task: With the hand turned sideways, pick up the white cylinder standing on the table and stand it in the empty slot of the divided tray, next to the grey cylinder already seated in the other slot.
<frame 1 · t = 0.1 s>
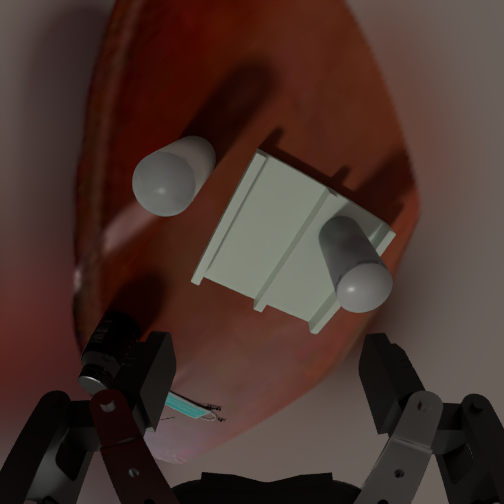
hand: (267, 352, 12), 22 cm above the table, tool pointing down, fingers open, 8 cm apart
white cylinder: (192, 158, 30), on the table
grey cylinder: (340, 237, 32), point 1 cm above the table, touching divided tray
supplement bottle: (122, 326, 42), on the table
surgical mask: (179, 398, 51), on the table
divided tray: (290, 245, 34), on the table
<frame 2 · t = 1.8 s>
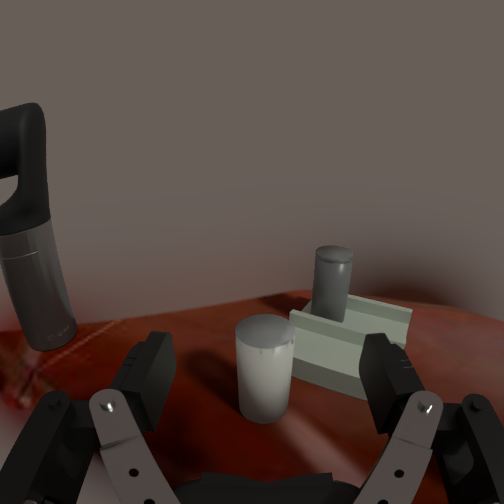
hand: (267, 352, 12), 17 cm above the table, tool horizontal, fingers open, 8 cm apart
white cylinder: (263, 405, 28), on the table
grey cylinder: (327, 316, 42), point 1 cm above the table, touching divided tray
divided tray: (343, 345, 37), on the table
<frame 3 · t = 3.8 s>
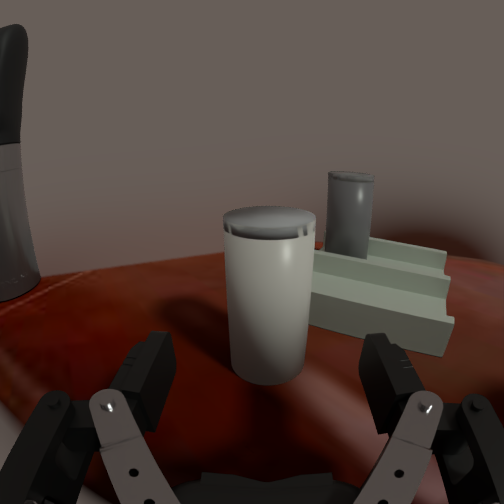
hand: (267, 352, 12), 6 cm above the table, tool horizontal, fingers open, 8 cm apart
white cylinder: (267, 360, 20), on the table
grey cylinder: (345, 261, 34), point 1 cm above the table, touching divided tray
divided tray: (369, 290, 29), on the table
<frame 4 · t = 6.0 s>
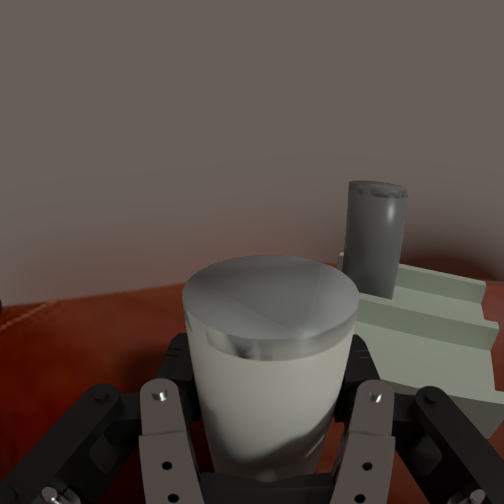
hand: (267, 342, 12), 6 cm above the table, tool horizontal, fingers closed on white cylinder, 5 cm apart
white cylinder: (264, 463, 12), on the table, touching gripper
grey cylinder: (365, 295, 26), point 1 cm above the table, touching divided tray
divided tray: (398, 338, 21), on the table
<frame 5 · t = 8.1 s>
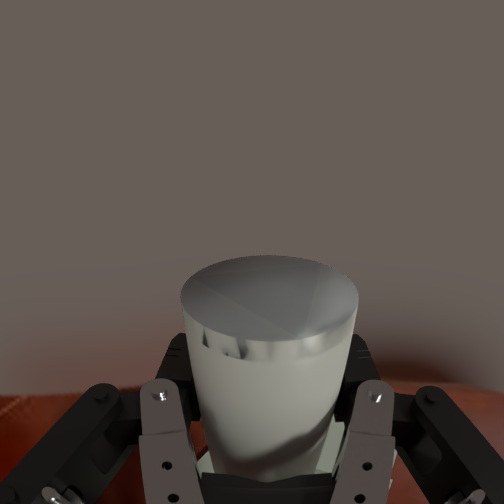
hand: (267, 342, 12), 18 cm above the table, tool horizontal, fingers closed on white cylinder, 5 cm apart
white cylinder: (264, 463, 12), point 12 cm above the table, touching gripper
divided tray: (298, 472, 21), on the table
when the fingers open (8 cm above the table, at t = 10.5 s): white cylinder drops 1 cm, resting on divided tray.
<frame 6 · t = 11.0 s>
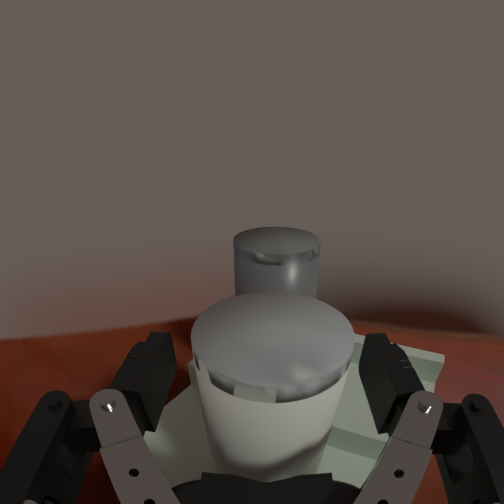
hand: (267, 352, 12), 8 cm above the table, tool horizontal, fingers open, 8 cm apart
white cylinder: (264, 476, 12), point 1 cm above the table, touching divided tray
grey cylinder: (273, 369, 21), point 1 cm above the table, touching divided tray
divided tray: (296, 436, 16), on the table
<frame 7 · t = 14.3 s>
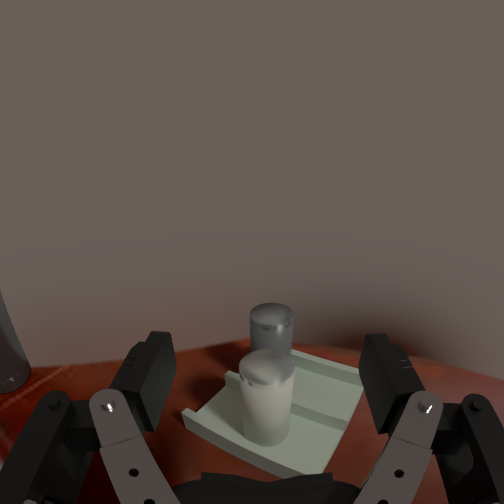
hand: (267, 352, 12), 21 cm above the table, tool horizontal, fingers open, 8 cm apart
white cylinder: (265, 429, 29), point 1 cm above the table, touching divided tray
grey cylinder: (270, 376, 37), point 1 cm above the table, touching divided tray
divided tray: (282, 411, 32), on the table
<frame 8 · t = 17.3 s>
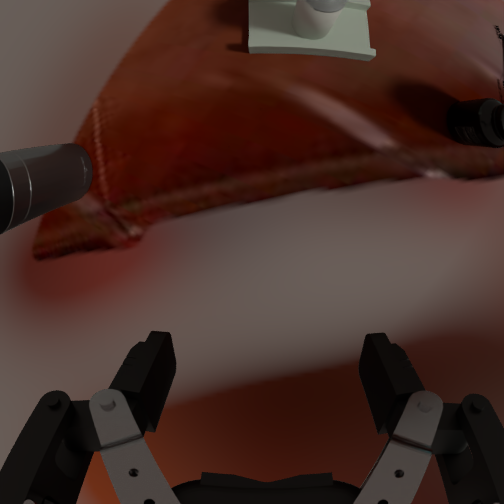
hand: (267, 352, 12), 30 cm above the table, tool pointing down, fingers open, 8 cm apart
white cylinder: (311, 24, 30), point 1 cm above the table, touching divided tray
supplement bottle: (461, 122, 34), on the table
divided tray: (308, 3, 29), on the table
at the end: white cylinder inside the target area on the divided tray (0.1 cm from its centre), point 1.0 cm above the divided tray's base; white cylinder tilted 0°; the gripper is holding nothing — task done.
